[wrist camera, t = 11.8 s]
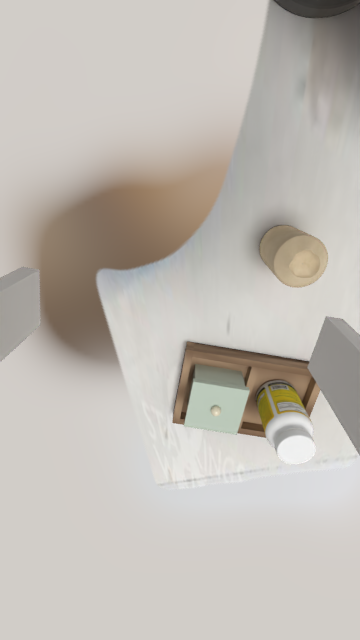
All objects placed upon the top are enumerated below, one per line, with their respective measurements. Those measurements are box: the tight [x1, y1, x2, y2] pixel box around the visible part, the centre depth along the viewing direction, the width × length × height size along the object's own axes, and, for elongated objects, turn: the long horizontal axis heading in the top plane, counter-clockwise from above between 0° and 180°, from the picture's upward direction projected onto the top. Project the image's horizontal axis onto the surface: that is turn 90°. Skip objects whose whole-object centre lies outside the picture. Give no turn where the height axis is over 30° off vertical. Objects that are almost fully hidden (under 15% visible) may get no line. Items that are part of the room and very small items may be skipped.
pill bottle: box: [256, 380, 316, 465], centre depth 44 cm, size 6×6×11 cm
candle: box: [260, 225, 328, 287], centre depth 37 cm, size 6×6×10 cm
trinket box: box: [184, 364, 250, 435], centre depth 46 cm, size 8×8×6 cm
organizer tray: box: [173, 342, 320, 438], centre depth 49 cm, size 13×20×2 cm, turn 81°
